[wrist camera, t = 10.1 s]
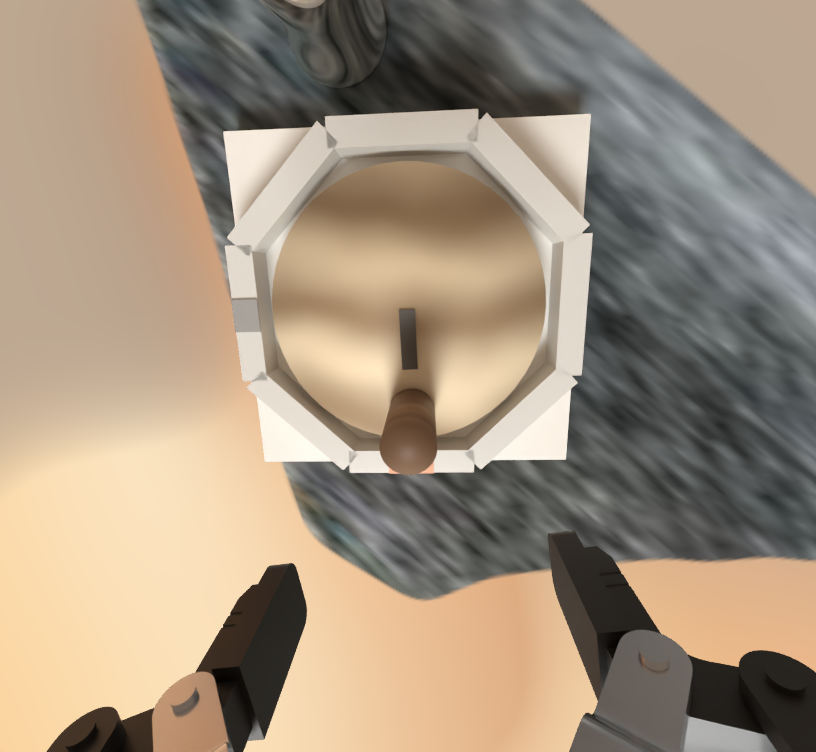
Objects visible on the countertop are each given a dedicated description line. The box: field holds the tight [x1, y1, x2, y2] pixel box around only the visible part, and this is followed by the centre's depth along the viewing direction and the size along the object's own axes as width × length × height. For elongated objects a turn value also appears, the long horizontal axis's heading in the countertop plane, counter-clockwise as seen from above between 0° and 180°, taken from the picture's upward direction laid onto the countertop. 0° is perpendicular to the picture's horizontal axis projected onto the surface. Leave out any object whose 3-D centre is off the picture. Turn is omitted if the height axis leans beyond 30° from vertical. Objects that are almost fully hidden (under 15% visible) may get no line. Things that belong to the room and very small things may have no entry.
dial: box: [272, 161, 546, 475], centre depth 23 cm, size 17×17×8 cm
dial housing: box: [223, 109, 593, 473], centre depth 27 cm, size 22×22×4 cm
